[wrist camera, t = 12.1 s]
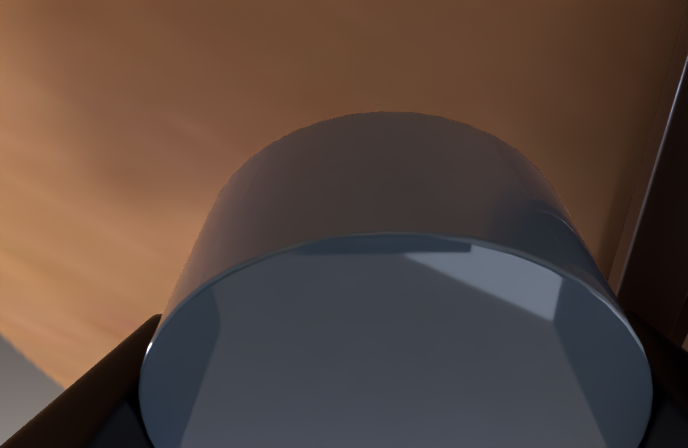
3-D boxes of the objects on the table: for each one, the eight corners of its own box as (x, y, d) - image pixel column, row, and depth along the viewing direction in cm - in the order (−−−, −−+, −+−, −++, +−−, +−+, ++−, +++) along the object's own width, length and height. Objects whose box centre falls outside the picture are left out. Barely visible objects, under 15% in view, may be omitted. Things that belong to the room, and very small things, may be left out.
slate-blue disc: (614, 100, 7) (737, 225, 5) (543, 401, 11) (593, 559, 9) (158, 117, 8) (61, 239, 5) (233, 402, 11) (195, 553, 9)
